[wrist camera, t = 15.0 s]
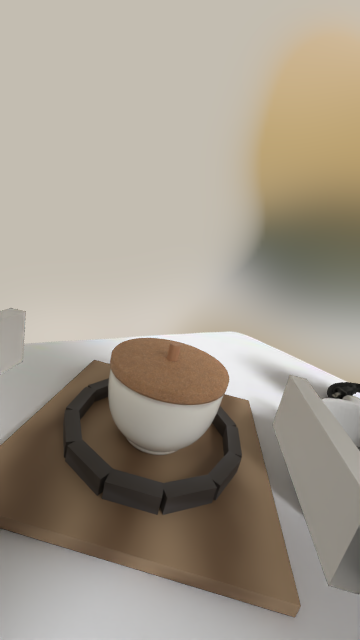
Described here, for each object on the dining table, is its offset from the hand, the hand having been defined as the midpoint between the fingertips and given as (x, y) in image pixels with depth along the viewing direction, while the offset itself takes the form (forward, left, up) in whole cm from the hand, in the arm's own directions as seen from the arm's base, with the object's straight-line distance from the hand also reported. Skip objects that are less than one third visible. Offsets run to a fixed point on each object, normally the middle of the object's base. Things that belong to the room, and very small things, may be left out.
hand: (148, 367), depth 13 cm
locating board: (0, -11, -13) cm, 17 cm away
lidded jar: (0, -11, -12) cm, 16 cm away
